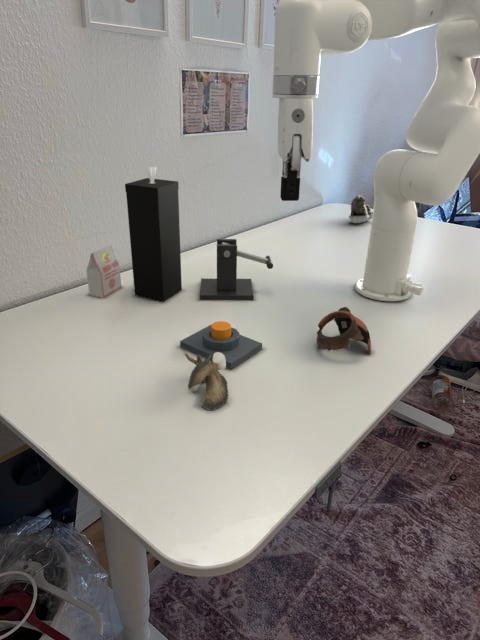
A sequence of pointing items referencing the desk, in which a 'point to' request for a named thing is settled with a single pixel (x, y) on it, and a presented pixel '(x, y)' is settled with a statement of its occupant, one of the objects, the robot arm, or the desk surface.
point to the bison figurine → (360, 210)
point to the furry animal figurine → (210, 380)
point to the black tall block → (154, 236)
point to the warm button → (221, 330)
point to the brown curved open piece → (343, 331)
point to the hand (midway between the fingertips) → (289, 199)
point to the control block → (222, 346)
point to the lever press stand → (226, 276)
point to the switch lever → (255, 258)
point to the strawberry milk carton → (103, 273)
